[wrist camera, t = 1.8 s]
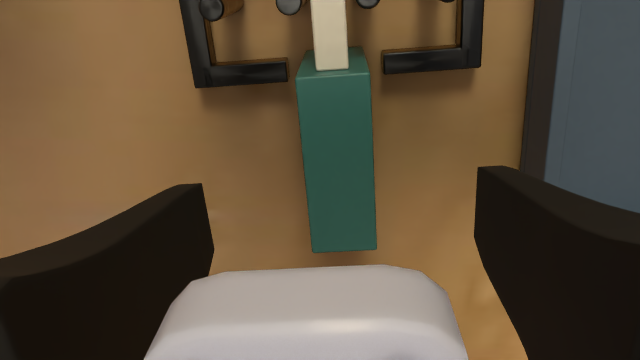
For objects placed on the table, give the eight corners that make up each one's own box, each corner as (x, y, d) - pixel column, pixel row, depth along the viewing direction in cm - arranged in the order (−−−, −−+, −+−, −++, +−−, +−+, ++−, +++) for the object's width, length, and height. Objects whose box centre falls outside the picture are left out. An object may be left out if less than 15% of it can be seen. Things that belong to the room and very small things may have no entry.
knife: (368, 188, 21) (377, 250, 16) (317, 191, 21) (312, 253, 17) (349, -253, 15) (353, -348, 11) (278, -245, 15) (252, -335, 11)
